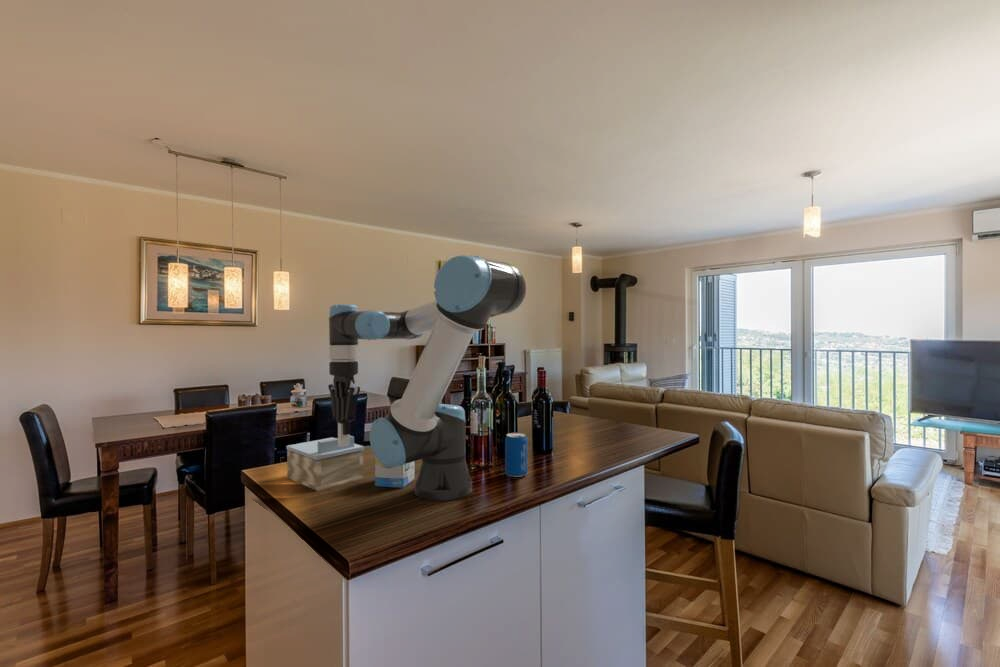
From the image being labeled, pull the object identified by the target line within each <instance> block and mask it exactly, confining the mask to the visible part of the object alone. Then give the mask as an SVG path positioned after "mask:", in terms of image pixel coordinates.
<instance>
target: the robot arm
mask: <svg viewBox="0 0 1000 667" xmlns="http://www.w3.org/2000/svg"><path fill="white" fill-rule="evenodd" d="M433 288H434V289H435V291H434V292H433V294H434V298H435V300H433V301H430V302H426V303H423V304H421V305H418V306H416V307H412V308H409V309H407V310H405V311H400V312H397V311H396V312H395V311H394V312H392V311H380V310H376V309H375V310H371V309H370V310H369V309H368V310H362V311H361V310H360V311H359V308H358V306H357V305H355V304H333V305H331V306H330V308H329V317H328V324H329V325H328V328H329V330H328V334H329V336H328V337H329V347H328V348H329V349H328V350H329V353H328V356H329V357H328V358H329V360H331V361H330V362H329V363H328V364H329V370H328V372H329V375H331V376H333V380H332V382H333V383H331V384H328V390H329V393H330V394H329V396H330V404H331V410H332V411H331V412H332V419H334V420H336V423H337V438H338V446H339V447H344V446H349V445H350V436H351V435H350V434H351V422H353V421H355V420H356V415H357V413H356V412H357V407H358V400H359V399H358V398H359V394H360V391H361V388H360V386H356V385H355V384H356V382H355V381H356V380H355V375H358V374H359V361H357V360H358V358H359V356H358V355H359V354H358V353H359V347H358V346H359V340H368V341H372V340H373V341H375V340H414V339H420V338H421V337H422V336H423V335H424V334H425V333H429V332H431V333H430V335H429V337H428V340H427V342H426V344H425V346H424V348H423V350H422V352H421V354H420V357H419V359H418V362H417V363H416V366H415V368H414V370H413V373H412V375H411V377H410V379H409V381H408V383H407V386H406V388H405V390H404V392H403V395H402V397H401V398H399V399H396V400H394V401H393V402H392V403H391V405H390V408H389V410H388V412H387V414H386V416H385V417H378V418H377V419H375V420H373V422H372V423H371V425H370V430H369V434H368V435H369V442H370V447H371V451H372V453H373V455H374V458H375V457H376V458H377V460H378V461H379V462H380V463H381V464H383V465H384V466H387V467H394V466H402V465H404V464H407V463H410V462H413V461H414V462H416V461H419V460H420V461H421V463H420V466H419V471H418V473H417V478H416V480H415V483H414V494H415V496H417V497H418V498H420V499H423V500H427V501H437V502H438V501H439V502H440V501H450V500H451V501H452V500H453V501H454V500H457V499H462V498H465V497H466V496H468V495H470V494H471V493H472V491H473V480H472V478H471V476H470V472H469V471H470V470H469V468H468V465H467V462H466V423H467V420H466V412H465V411H466V410H465V409H464V407H462V406H460V405H455V404H448V403H447V404H446V403H441V402H442V400H443V398H444V396H445V393H446V392H447V389H448V388H449V386H450V384H451V382H452V380H453V377H454V376H455V373H456V371H457V370H458V367H459V365H460V363H461V361H462V359H463V357H464V355H465V353H466V351H467V348H468V347H469V345H470V343H471V341H472V338H473V337H474V335H475V333H476V332H479V331H482V330H484V329H485V328H486V326H487V324H488V322H489V320H490V318H493V317H497V316H500V315H504V314H506V315H507V314H510V313H513V311H515V310H517V309H518V308H519V307H520V306H521V305H522V303H523V302H524V300H525V298H526V294H527V285H526V280H525V278H524V276H523V274H522V272H521V271H520V270H519V269H518V268H517V267H515V266H514V265H512V264H510V263H508V262H503V261H497V260H492V259H487V258H484V257H480V256H476V255H456V256H454V257H451V258H449V259H448V260H446V261H445V262H444V263H443V264H442V265H441V266H440V268H439V270H438V271H437V274H436V276H435V278H434V282H433Z"/></svg>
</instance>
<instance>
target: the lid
mask: <svg viewBox="0 0 1000 667" xmlns="http://www.w3.org/2000/svg"><path fill="white" fill-rule="evenodd" d="M285 447H286V450H290V451H293V452H295V453H298V454H301V455H304V456H306V457H309V458H312V459H314V460H320V459H324V458H329V457H334V456H338V455H343V454H347V453H352V452H357V451H361V450H362V451H364V450H365V446H364V445H361V444H357V443H355V436H353V435H350V445H349V446H344V447H339V446H338V437H333V436H332V437H327V438H322V439H316V440H311V441H306V442H305V441H304V442H299V443H296V444H295V443H294V444H288V445H286V446H285Z"/></svg>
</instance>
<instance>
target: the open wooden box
mask: <svg viewBox="0 0 1000 667" xmlns="http://www.w3.org/2000/svg"><path fill="white" fill-rule="evenodd" d="M286 450H287V449H286ZM286 452H287V454H286V458H287V459H286V460H287V461H286V463H287V466H286V467H287V468H286V469H287V471H286V472H287V474H286V475H287V476H286V477H287V478H288V479H290V480H293V481H294V482H296V483H299V484H301V485H303V486H306V487H308V488H309V489H311V490H314V491H316V492H318V491H322V490H325V489H329V488H333V487H337V486H341V485H344V484H348V483H352V482H356V481H359V480H363V479H364V450H361V451H357V452H352V453H347V454H343V455H338V456H334V457H329V458H324V459H320V460H314V459H312V458H309V457H306V456H304V455H301V454H298V453H295V452H293V451H290V450H287V451H286Z"/></svg>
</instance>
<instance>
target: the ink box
mask: <svg viewBox="0 0 1000 667" xmlns="http://www.w3.org/2000/svg"><path fill="white" fill-rule="evenodd" d="M374 460H375V461H374V462H375V463H374V465H375V466H374V467H375V468H374V470H375V471H374V478H375V479H374V486H375V487H383V488H384V487H386V488H401V489H403V488H404V487H406V486H407V485H408V484H410V483H411V482H412V481H414V480H415V461H413V462H410V463H407V464H404V465H402V466H394V467H387V466H384V465H383V464H381V463H380V462H379V461H378V460H377V458H376V457H375V456H374Z"/></svg>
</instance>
